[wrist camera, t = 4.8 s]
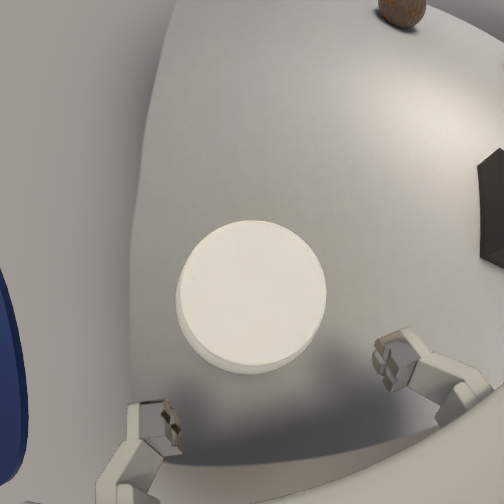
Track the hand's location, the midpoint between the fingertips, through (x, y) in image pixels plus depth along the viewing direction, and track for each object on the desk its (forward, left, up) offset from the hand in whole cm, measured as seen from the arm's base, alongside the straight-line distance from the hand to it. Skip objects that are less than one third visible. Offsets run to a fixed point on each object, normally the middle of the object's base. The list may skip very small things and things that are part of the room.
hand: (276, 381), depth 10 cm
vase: (+7, +47, -9) cm, 48 cm away
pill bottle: (-2, +3, -9) cm, 10 cm away
